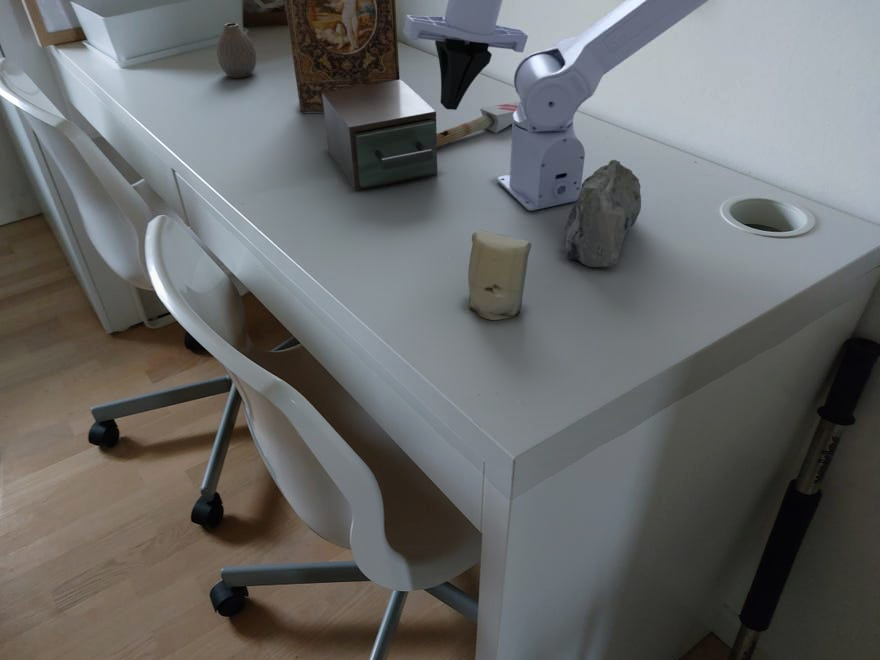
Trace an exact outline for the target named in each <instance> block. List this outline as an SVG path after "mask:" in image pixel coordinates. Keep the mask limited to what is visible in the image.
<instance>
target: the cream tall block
mask: <svg viewBox="0 0 880 660" xmlns="http://www.w3.org/2000/svg"><path fill="white" fill-rule="evenodd" d="M471 242H472V245H471V251H470V256H469V262H468V272H467V280H468V282H467V283H468V292H469V294H468V295H469V296H468V308H469V309H470V310H472V311H474V312H476V313H477V315H478V316H480V317H482V318H484V319H487V320H491V321H499V320H503V319H514V318H516V317H517V316H518V315H519V314H520V312H521V309H522V306H523V305H522V304H523V296H524V288H525V282H526V275H527V269H528V260H529V255H530V252H531V249H532V243H531V241H529V240H525V239H520V238H516V237H513V236H508V235H506V234H505V235H504V234H500V233H495V232H491V231H487V230H477V231H474V232H473V233H472V235H471Z"/></svg>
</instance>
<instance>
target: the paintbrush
mask: <svg viewBox="0 0 880 660" xmlns="http://www.w3.org/2000/svg"><path fill="white" fill-rule="evenodd" d="M520 102H521V101H517V102H509V103H505V104H498V105H490V106H485V107H479V110H480V112H481V115H482V116H479V117H476V118H474V119H472V120H469V121H467V122H464V123H462V124H459V125H456V126H454V127H451V128H448V129H445V130H443V131H442V132H436V133H437V148H439V147H442V146H444V145H445V144H449V143H451V142H454V141H457V140H459V139H462V138H465V137H466V136H469V135H471V134H475V133H477V132H479V131H482V130H488V131H490V132H493V133H494V134H497V133H499V132H501V131H502V130H504V129H506V128H507V127H509V126H511V125H512V123H513V114H514V112H515V111H516V109H517V108H518V106H519V104H520Z"/></svg>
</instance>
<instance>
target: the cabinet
mask: <svg viewBox="0 0 880 660" xmlns="http://www.w3.org/2000/svg"><path fill="white" fill-rule="evenodd" d="M322 98H323V106H324V113H323V114H324V123H325V130H326V138H327V147H328V153H329V154H330V156H331V157H332V159H333V160H334V162H335V163H336V165H337V166H338V168H339V169H340V170H341V172H342V174H343V175H344V176H345V178H346V179H347V181H348V182H349V184H350V185H351V187H352V188H353V190H354V191H355V192H357V191H361V190H367V189H372V188H377V187H381V186H386V185H391V184H396V183H401V182H405V181H411V180H415V179H421V178H427V177H429V176H430V177H431V176H435V175H438V147H437V133H438V132H437V111H436V110H435V109H434V108H433V107H432V106H431V105H430V104H428V103H427V101H426V100H424V99H423V98H422V97H421V96H420V95H419V94H417V92H415V90H413V89H412V88H411V87H410V86H409V85H408V84H407V83H406V82H405V81H404V80H403V79H401V78H400V80H395V81H389V82H383V83H377V84H371V85H365V86H359V87H353V88H347V89H341V90H336V91H330V92H324V93H322ZM431 119H432V120H433V121H434V122H435V137H436V173H431V174H426V175H421V176H416V177H411V178H406V179H401V180H396V181H391V182H386V183H381V184H376V185H371V186H366V187H361V186H360V184H359V177H358V166H357V156H356V145H355V135H354V134H356V133H355V132H360V131H365V130H371V129H376V128H381V127H387V126H392V125H398V124H403V123H408V122H414V121H419V120H423V121H426V120H431Z"/></svg>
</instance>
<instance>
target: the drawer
mask: <svg viewBox="0 0 880 660" xmlns="http://www.w3.org/2000/svg"><path fill="white" fill-rule="evenodd" d="M355 133H356V134H354V135H355V145H356V156H357V166H358V177H359V184H360V186H361V187H366V186H371V185H376V184H381V183H386V182H391V181H396V180H401V179H406V178H411V177H416V176H421V175H426V174H431V173H436V137H435V122H434V121H433V120H432V119H431V120H426V121H423V120H419V121H414V122H408V123H403V124H398V125H392V126H387V127H381V128H376V129H371V130H365V131H360V132H355Z"/></svg>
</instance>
